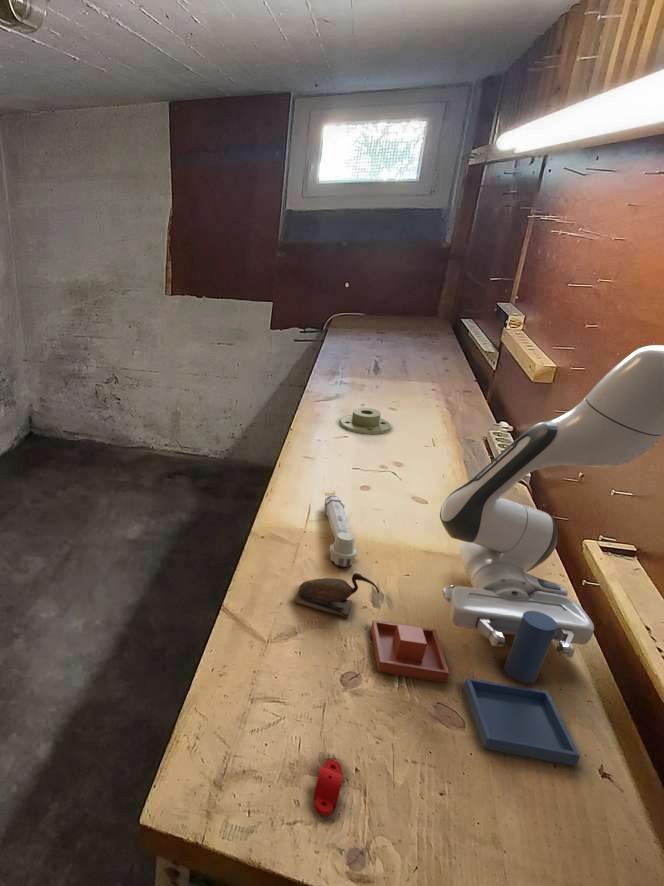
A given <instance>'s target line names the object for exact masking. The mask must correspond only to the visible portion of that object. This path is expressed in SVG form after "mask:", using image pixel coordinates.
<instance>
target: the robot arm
mask: <svg viewBox="0 0 664 886" xmlns="http://www.w3.org/2000/svg"><path fill="white" fill-rule="evenodd" d="M663 436H664V344H649V345H645V346H642V347H639V348H637V349H635V350H634V351H632V352H630V354H628V355H627V356H626V357H624V358H623V359H622V360H621V361H620V362H619V363H618V364H617V365H615V366H614V367H613V368H612V369H611V370H609V372H608V373H607V374H606V375H604V376H603V377H602V378H601V379H600V380H599V381H598V382H597V383H596V385H595V386H594V387H593V388H592V389H591V390H590V391H589V392H588V394H587V395H586V396H585V397H584V398H583V399H582V400H581V401H580V402H579V403H578V404H577V405H576V406H574V407H573V408H572V409H570V410H568V411H567V412H566V413H564V414H561V415H560V416H558V417H556V418H553V419H551V420H548V421H542V422H538V423H536V424H534V425H533V426H531V427H529V428H528V429H527V430H526V431H525V432H523V433H522V434H521V435H519V436H518V437H517V438H516V439H515V440H513V442H511V443H510V444H509V445H508V446H507V447H506V448H504V449H503V450H502V451H501V452H500V453H499V454H498V455H497V456H496V457H495V458H494V459H493V460H491V461H490V462H489V463H488V464H487V465H486V466H484V468H482V469H481V470H480V471H479V472H478V473H477V474H476V475H474V477H472V479H470V480H469V481H467V482H466V483H465V484H463V485H462V486H460V487H459V488H456V489H455V490H453V491H452V492H451V493H449V495H448V496H447V498H446V499H445V500H444V502H443V503H442V505H441V508H440V511H439V519H440V523H441V525H442V527H443V529H444V530H445V531H446V533H447V534H448V536H449V537H450V538H451V539H454V540H458V541H460V545H459V557H460V558H459V559H460V561H461V562H460V563H461V565H462V568H463V571H464V573H465V575H466V577H467V579H468V580H469V581H470V585H471V587H470V586H462V585H461V586H460V585H453V584H452V585H449V586H446V587H443V588H442V591H441V592H442V595H443V598H444V600H445V601H446V602H448V614H449V618H450V622H451V623H452V624H454V625H455V626H457V627H459V628H466V629H473V630H477V631H478V633H480V634H481V635H482V636H483V637H485V638H486V639H487V640H489V642H490V645H491V646H492V647H499V648H504V646H505V643H506V638H505V636H504V634H506V635H514V636H516V633H517V630H518V627H519V625H520V622H521V619H522V616H523V614H524V613H525V612H527V611H537V612H541V613H544V614H546V615H548V616H550V617H551V618H553V619H554V620H555V621H556V623H557V629H556V632H555V634H554V637H553V639H552V641H555V642H558V643H557V644H558V645H557V646H556V652H557V653H558V654H559V655H558V656H560V657H565V658H566V657H567V658H573V657H574V654H575V648H574V646H573V644H576V645H587V644H588V643H589V642H590V640H591V638H592V637H593V634H594V631H595V625H594V623H593V621H592V620H591V618H590V616H589V615H588V614H587V613H586V611H585V610H584V609H583V607H582V606H581V605H580V604H579V603H578V602H577V601H576V600H575V599H573V598H571V597H569V596H568V594H569V591H568V588H567V587H566V586H564V585H562V584H560V583H556V582H553V581H550V580H546V579H543V578H540V577H537V576H535V575H533V574H530V573H529V572H530V571H533V570H534V569H536V568H537V567H538V566H539V565H541V564H542V563H544V562H545V561H547V559H549V558H550V556H551V555H552V554H553V552H554V551H555V549H556V547H557V545H558V530H557V525H556V523H555V520H554V519H553V517H552V516H551V515H550V514H549V513H548V512H547V511H543V510H540V509H537V508H534V507H532V506H529V505H525V504H523V503H519V502H515V501H513V500H511V499H507V498H504V497H502V496H503V495H505V494H506V493H507V492H508V491H510V490H511V489H512V488H514V486H516V485H517V484H518V483H519V482H520V481H521V480H523V479H524V478H525V477H526V476H527V475H529V474H531V473H533V472H535V471H538V470H540V469H546V468H551V467H552V468H553V467H587V468H589V467H590V468H609V467H616V466H621V465H625V464H628V463H631V462H632V461H634V460H636V459H638V458H639V457H641V456H643V455H644V454H645V453H646V452H648V451H649V450H650V449H651V448H652V447H653V446H654V445H655V444H656V443H657V442H658V441H659V440H660V439H661V438H662V437H663Z"/></svg>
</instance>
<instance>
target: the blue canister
mask: <svg viewBox="0 0 664 886" xmlns="http://www.w3.org/2000/svg"><path fill="white" fill-rule="evenodd" d="M556 629H557V623H556V621H555V620H554V619H553V618H551V617H550V616H548V615H546V614H544V613H541V612H537V611H527V612H525V613H524V614H523V616H522V619H521V622H520V625H519V627H518V630H517V633H516V635H514V639H513V641H512V644H511V648H510V650H509V652H508V654H507V658H506V660H505V664H504V667H503V668H504V672H505V673H506V674H507V675H508V676H509V677H511V678H512V679H513V680H516V681H517V682H520V683H524V684H533V683H535V682H536V681H537V679H538V676H539V674H540V671H541V669H542V666H543V664H544V661H545V659H546V656H547V654H548V652H549V649H550V646H551V644H552V643H553V640H552V639H553V637H554V634H555V632H556Z"/></svg>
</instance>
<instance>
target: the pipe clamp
mask: <svg viewBox="0 0 664 886" xmlns="http://www.w3.org/2000/svg"><path fill="white" fill-rule="evenodd" d="M343 777H344V775H343V774H342V765H341V764H340V762H338V761H337V760H335V759H327V760H326V761H325V762H324V765H323V766H322V765H321V766H320V768H319V772H318V776H317V780H316V784H315V789H314V793H313V798H315V801H314V808H315V810H316V811H317V812H318V813H319V815H323V816H330V815H332V812H333V810H334V807H335V808H336V807H337V806H338V805H337V804H338V800H339V796H340V791H341V786H342V783H343V782H342V781H343Z"/></svg>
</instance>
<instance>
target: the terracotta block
mask: <svg viewBox="0 0 664 886" xmlns="http://www.w3.org/2000/svg"><path fill="white" fill-rule="evenodd" d="M396 624H397V625H396V630H395V634H394V638H393V645H394V650H395V655H396V658H399V659H405V660H411V661H417V662H422V661H423V657H424V653H425V650H426V646H427V643H426V639H425V636H424V632H423V629H422V628H423V627H422V628H421V626H415V625H409V626H407V625H408V624H402V625H401V623H396ZM414 626H415V627H414Z"/></svg>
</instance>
